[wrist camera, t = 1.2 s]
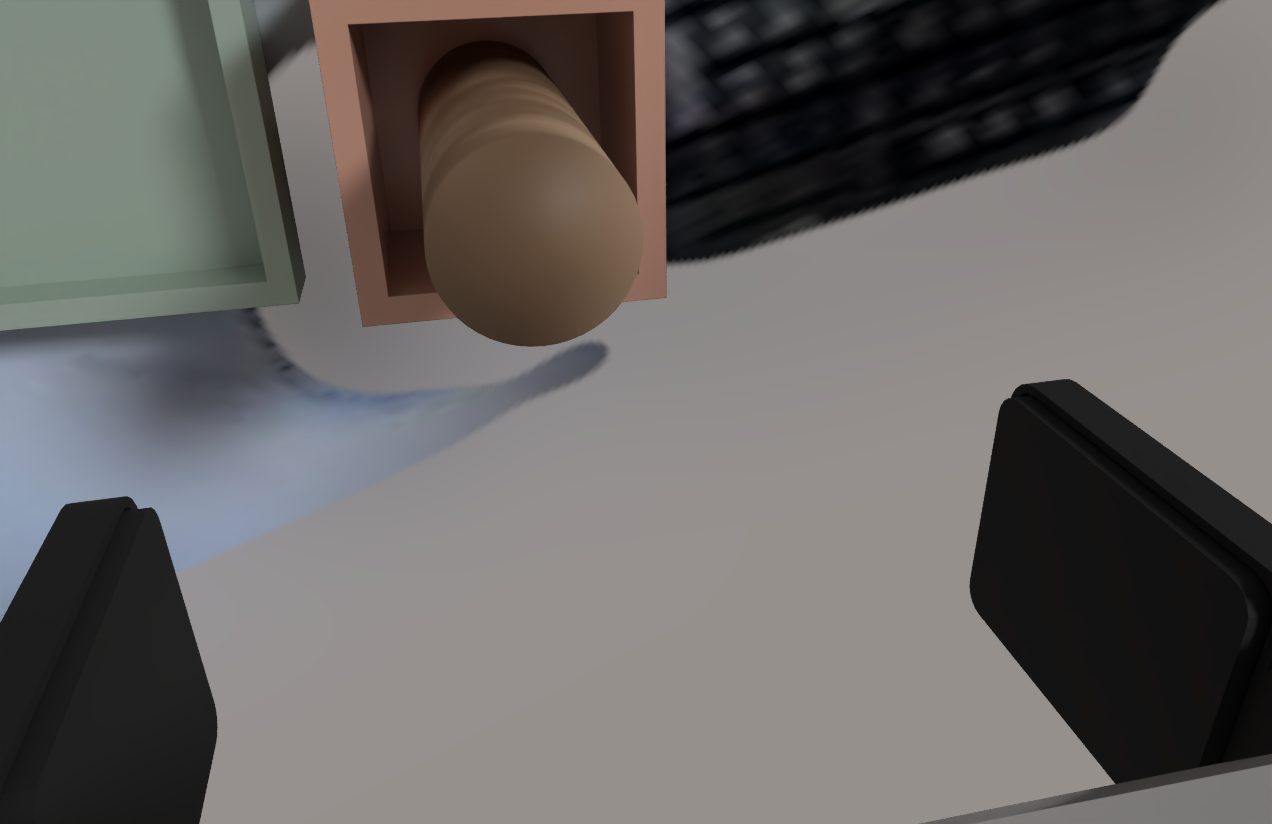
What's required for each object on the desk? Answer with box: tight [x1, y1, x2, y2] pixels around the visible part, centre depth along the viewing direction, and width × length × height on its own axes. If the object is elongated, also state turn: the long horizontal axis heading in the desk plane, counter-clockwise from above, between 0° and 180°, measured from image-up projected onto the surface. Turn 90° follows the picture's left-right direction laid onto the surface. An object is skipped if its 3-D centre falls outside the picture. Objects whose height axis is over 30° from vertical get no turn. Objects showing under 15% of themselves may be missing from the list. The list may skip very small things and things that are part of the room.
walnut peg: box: [418, 40, 643, 347], centre depth 25 cm, size 4×4×13 cm
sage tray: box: [0, 0, 306, 331], centre depth 28 cm, size 13×12×2 cm
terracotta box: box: [309, 0, 666, 327], centre depth 29 cm, size 9×9×6 cm
